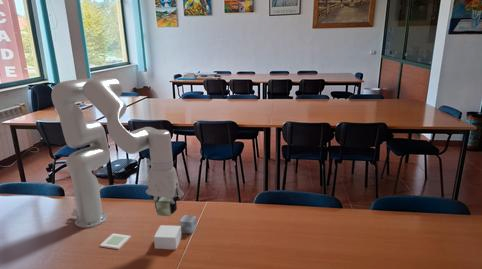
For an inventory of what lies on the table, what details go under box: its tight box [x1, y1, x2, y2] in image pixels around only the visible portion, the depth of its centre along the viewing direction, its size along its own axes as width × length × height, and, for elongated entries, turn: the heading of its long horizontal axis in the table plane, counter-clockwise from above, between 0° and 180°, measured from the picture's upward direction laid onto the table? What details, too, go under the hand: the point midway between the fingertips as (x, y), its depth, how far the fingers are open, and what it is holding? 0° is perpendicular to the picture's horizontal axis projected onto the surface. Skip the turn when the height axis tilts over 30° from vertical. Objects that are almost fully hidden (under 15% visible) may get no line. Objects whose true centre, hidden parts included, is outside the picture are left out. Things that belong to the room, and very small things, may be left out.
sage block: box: [155, 197, 173, 217], centre depth 120 cm, size 5×5×5 cm
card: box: [99, 233, 132, 250], centre depth 125 cm, size 8×8×1 cm
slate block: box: [179, 214, 198, 235], centre depth 132 cm, size 5×5×5 cm
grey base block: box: [153, 224, 182, 250], centre depth 124 cm, size 8×8×5 cm
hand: (166, 210), depth 121 cm, fingers closed on sage block, 5 cm apart
